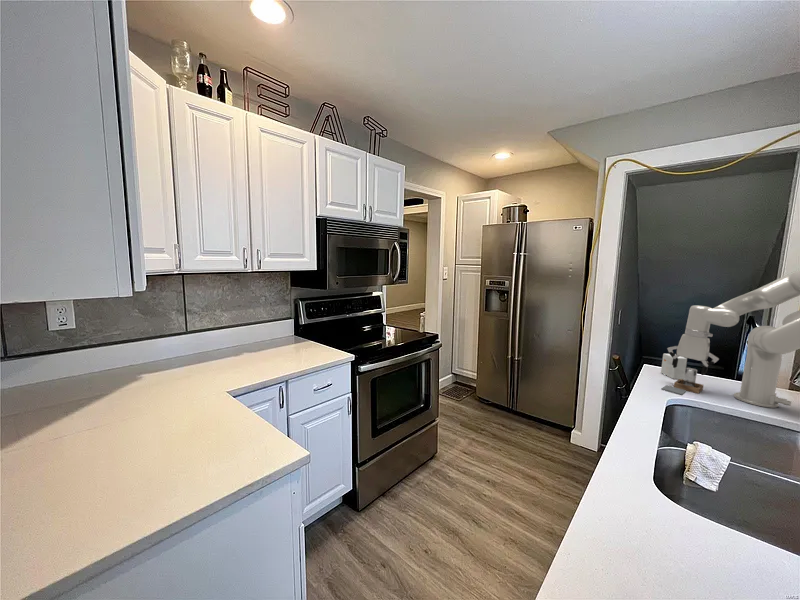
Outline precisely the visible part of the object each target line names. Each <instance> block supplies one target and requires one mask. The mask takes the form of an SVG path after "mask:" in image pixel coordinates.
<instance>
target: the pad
mask: <svg viewBox="0 0 800 600" xmlns="http://www.w3.org/2000/svg"><path fill="white" fill-rule="evenodd" d="M660 390H661V391H664V390H665V392H668V393H672V394H676V395H679V396H683V395H684V394H685V393H686V392H687V391H686V390H683V389H679V388H675V387H674V386H672V385H667V384H666V385H664V386H663V387H661V389H660Z"/></svg>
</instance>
